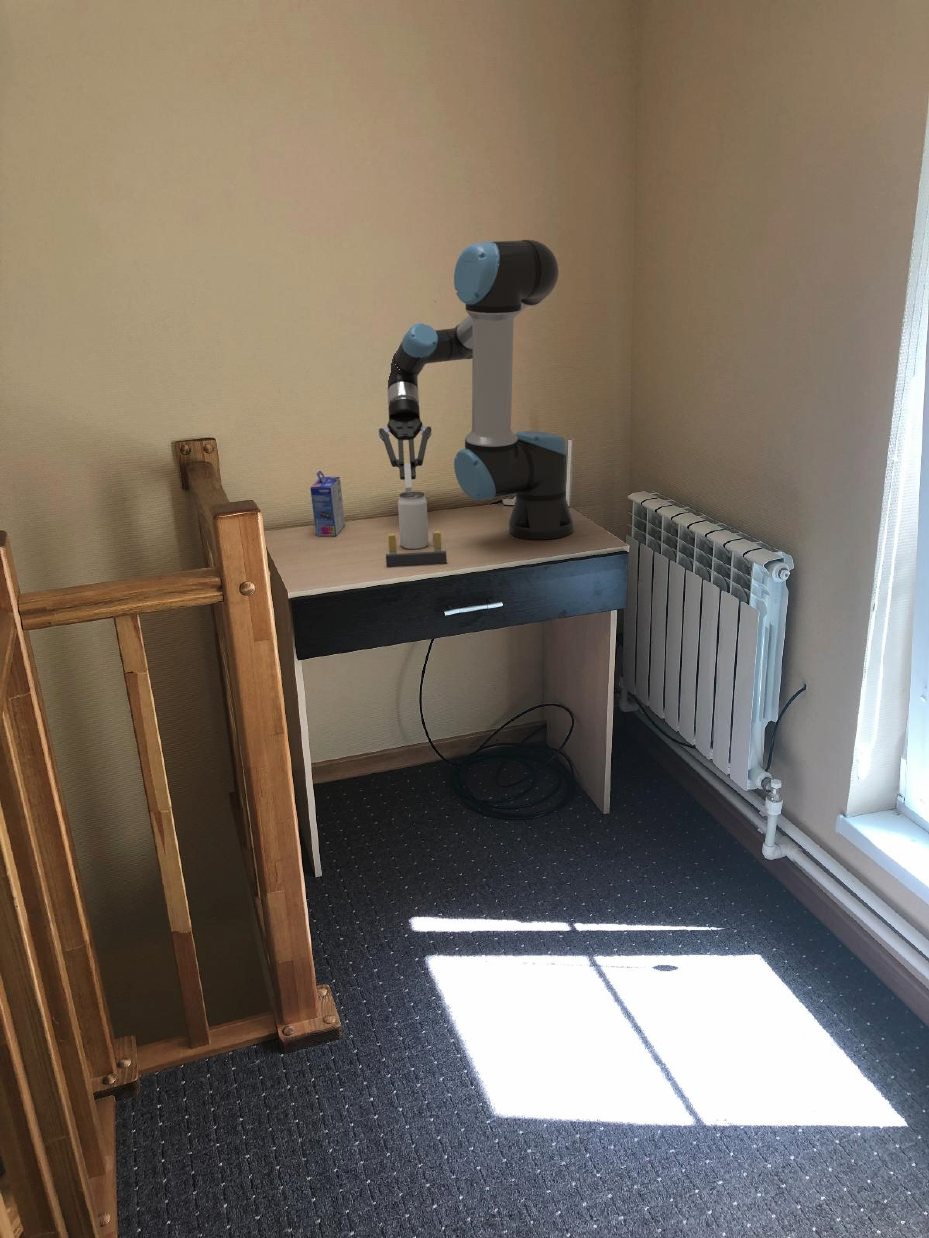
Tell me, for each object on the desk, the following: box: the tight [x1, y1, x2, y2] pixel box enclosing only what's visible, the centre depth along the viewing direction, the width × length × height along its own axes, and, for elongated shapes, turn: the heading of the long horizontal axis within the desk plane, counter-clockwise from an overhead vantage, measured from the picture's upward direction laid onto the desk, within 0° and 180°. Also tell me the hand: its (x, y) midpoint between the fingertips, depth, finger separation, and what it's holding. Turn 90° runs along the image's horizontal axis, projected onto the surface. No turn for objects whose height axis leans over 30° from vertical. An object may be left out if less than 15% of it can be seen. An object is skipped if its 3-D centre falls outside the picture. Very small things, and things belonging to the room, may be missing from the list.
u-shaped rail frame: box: [385, 530, 448, 568], centre depth 229 cm, size 13×19×5 cm
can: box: [397, 490, 430, 551], centre depth 232 cm, size 6×6×12 cm
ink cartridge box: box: [309, 470, 346, 537], centre depth 246 cm, size 10×6×14 cm, turn 174°
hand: (408, 490), depth 241 cm, fingers closed
